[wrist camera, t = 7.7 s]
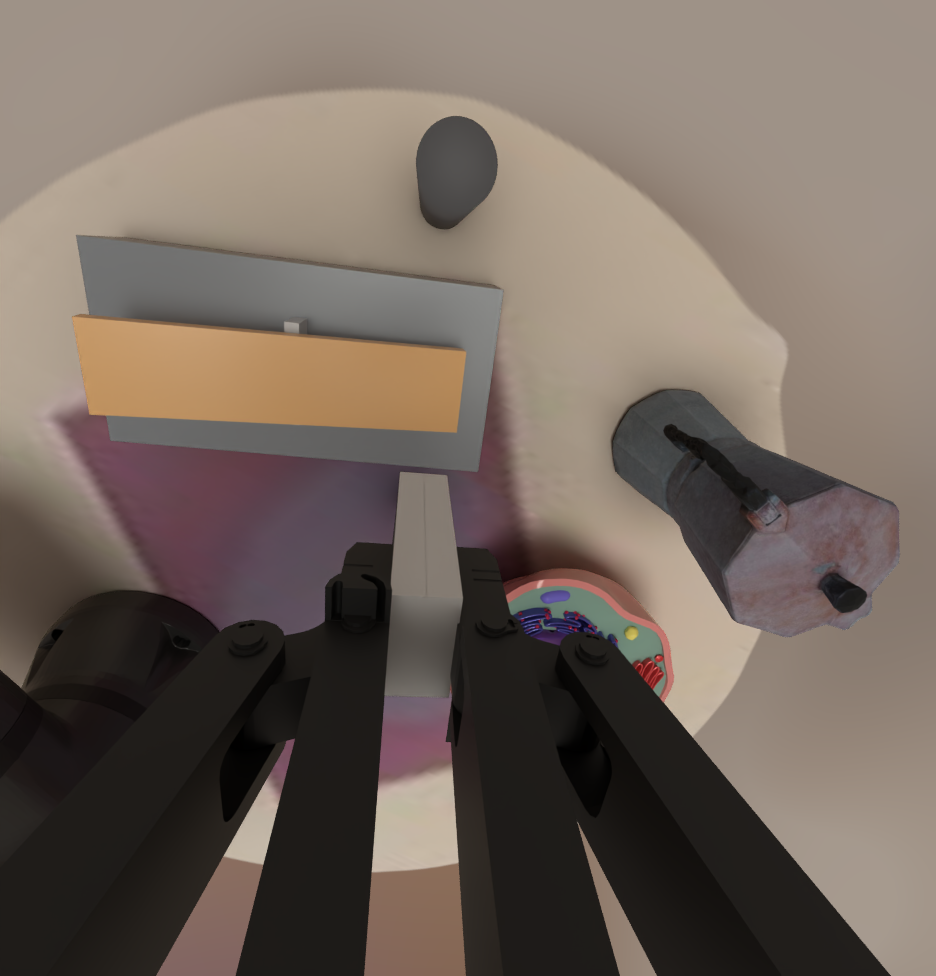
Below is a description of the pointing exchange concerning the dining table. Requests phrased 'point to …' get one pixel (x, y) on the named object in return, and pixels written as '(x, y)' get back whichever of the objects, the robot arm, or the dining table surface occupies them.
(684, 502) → the moka pot
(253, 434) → the block
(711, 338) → the dining table surface
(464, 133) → the post
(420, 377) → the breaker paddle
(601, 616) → the cell model
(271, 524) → the dining table surface
